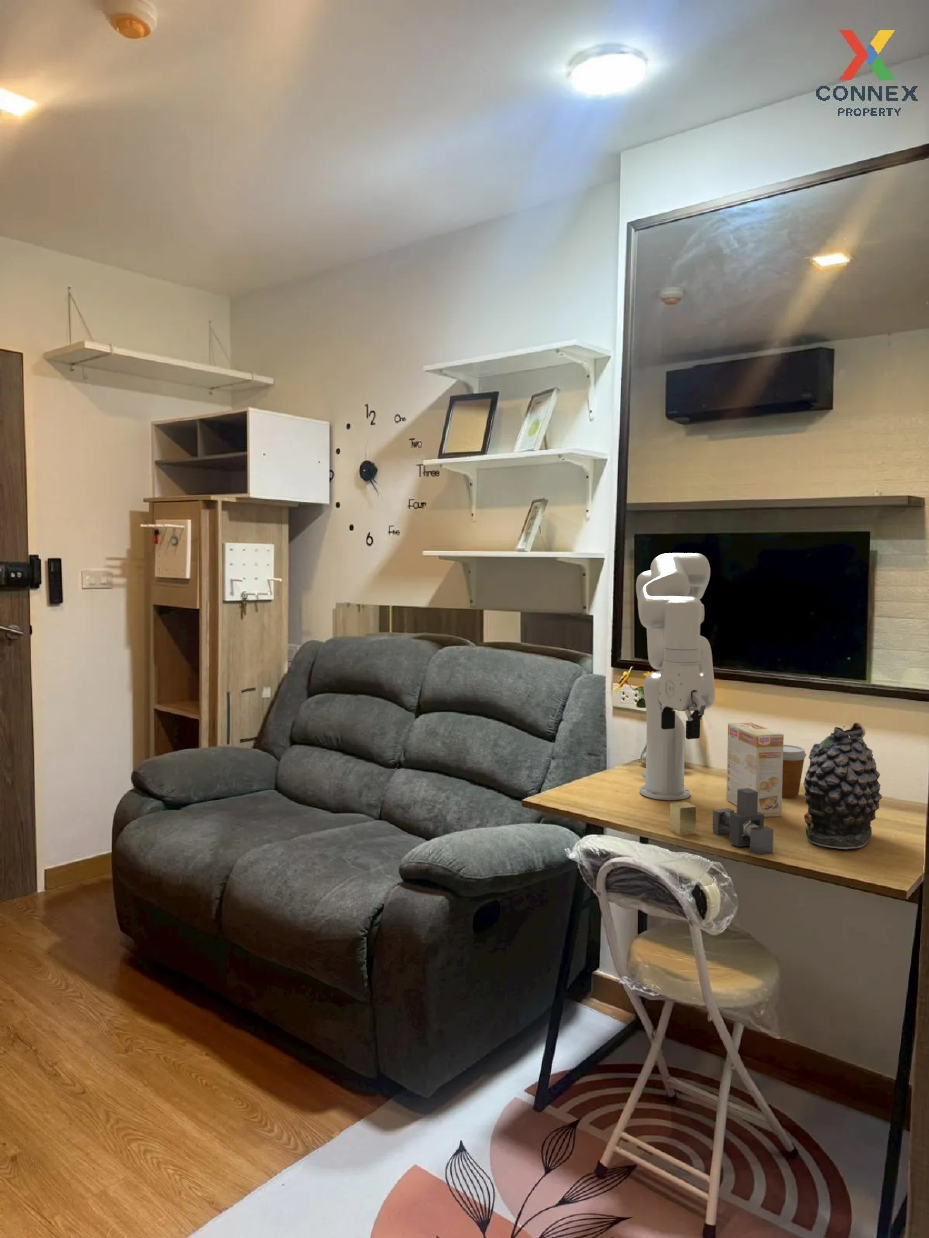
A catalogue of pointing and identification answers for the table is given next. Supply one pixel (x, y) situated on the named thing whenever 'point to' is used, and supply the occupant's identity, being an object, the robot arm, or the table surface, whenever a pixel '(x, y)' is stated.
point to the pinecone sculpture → (841, 790)
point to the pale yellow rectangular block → (683, 818)
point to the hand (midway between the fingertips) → (680, 733)
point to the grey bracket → (744, 816)
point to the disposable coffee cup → (792, 770)
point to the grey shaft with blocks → (745, 831)
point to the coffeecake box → (755, 765)
